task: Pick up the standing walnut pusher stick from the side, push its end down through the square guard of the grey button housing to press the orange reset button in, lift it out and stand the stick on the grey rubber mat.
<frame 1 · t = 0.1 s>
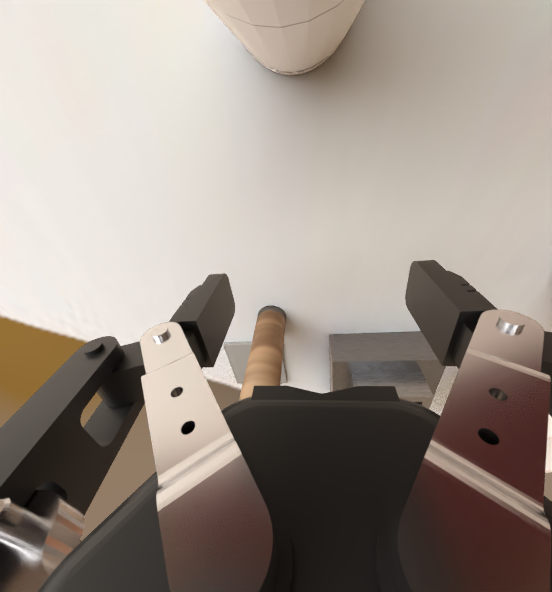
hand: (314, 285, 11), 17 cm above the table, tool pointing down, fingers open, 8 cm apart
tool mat: (257, 362, 42), on the table
pusher stick: (271, 316, 36), on the table
grey button housing: (374, 364, 40), on the table
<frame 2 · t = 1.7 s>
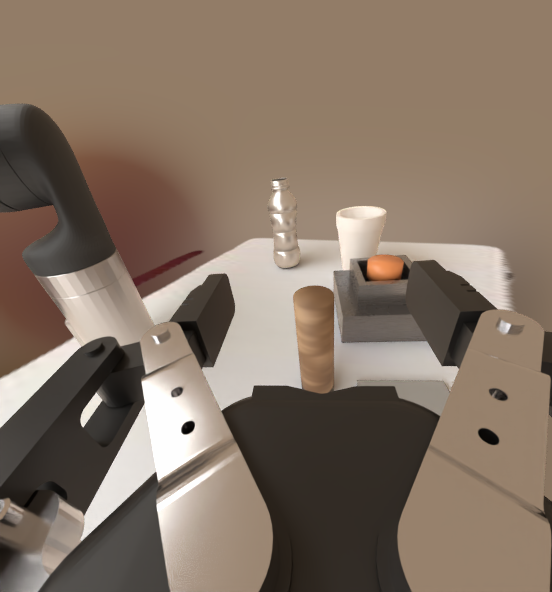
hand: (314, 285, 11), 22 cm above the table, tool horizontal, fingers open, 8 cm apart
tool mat: (411, 418, 27), on the table
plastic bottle: (288, 266, 63), on the table
pusher stick: (317, 386, 32), on the table
breaker button: (384, 268, 38), point 9 cm above the table, slide at 0.0 cm
foam cup: (356, 271, 56), on the table
grey button housing: (378, 313, 43), on the table
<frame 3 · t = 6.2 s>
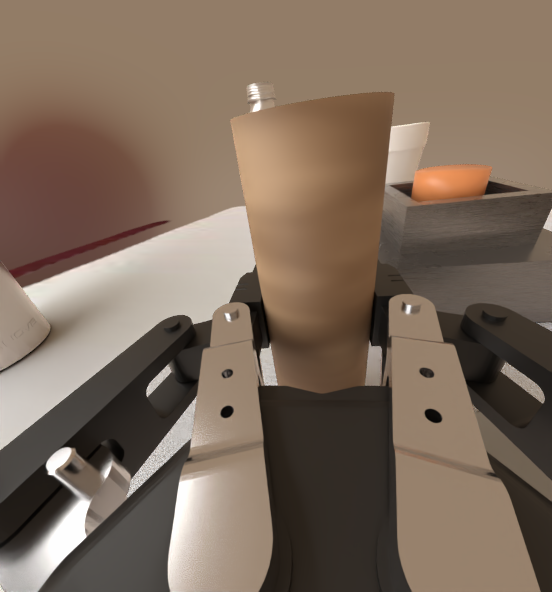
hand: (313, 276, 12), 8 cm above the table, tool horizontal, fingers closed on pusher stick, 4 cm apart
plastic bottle: (277, 229, 45), on the table
pusher stick: (321, 423, 14), on the table, touching gripper
breaker button: (447, 186, 20), point 9 cm above the table, slide at 0.0 cm
foam cup: (376, 230, 38), on the table
grey button housing: (426, 279, 25), on the table
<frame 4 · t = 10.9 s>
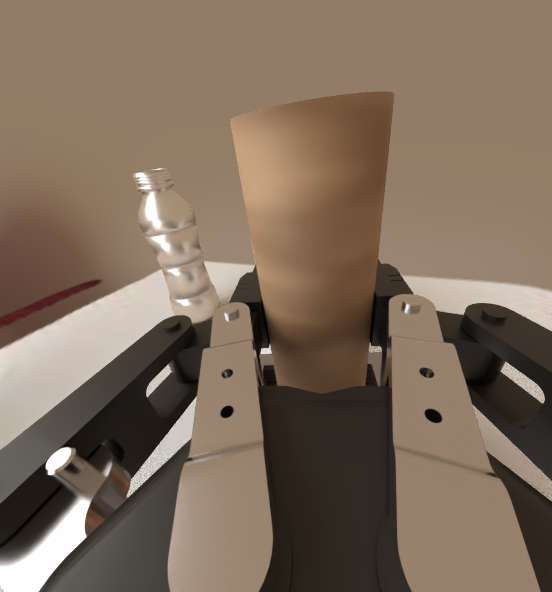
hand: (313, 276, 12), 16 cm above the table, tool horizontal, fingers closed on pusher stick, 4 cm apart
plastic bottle: (201, 316, 38), on the table
pusher stick: (321, 425, 14), point 8 cm above the table, touching breaker button, gripper
grey button housing: (322, 483, 18), on the table
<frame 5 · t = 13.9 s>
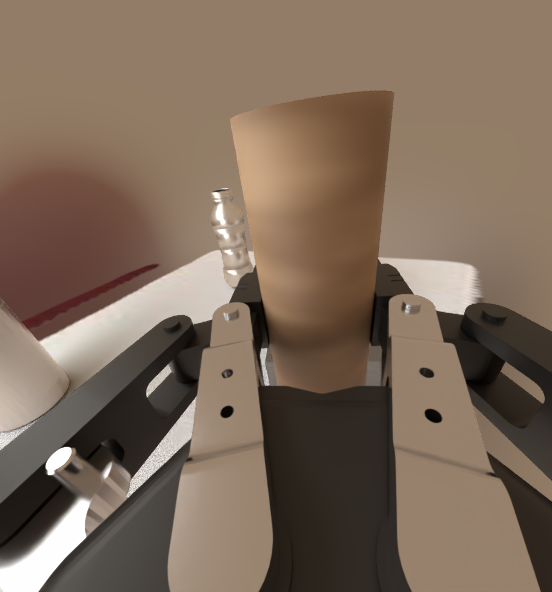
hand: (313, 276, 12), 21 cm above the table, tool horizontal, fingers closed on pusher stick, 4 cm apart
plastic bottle: (241, 284, 57), on the table
pusher stick: (321, 426, 14), point 13 cm above the table, touching gripper
grey button housing: (322, 348, 37), on the table
when the fingers open (9 cm above the table, at t = 16.3 s): pusher stick stays where it is, resting on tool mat.
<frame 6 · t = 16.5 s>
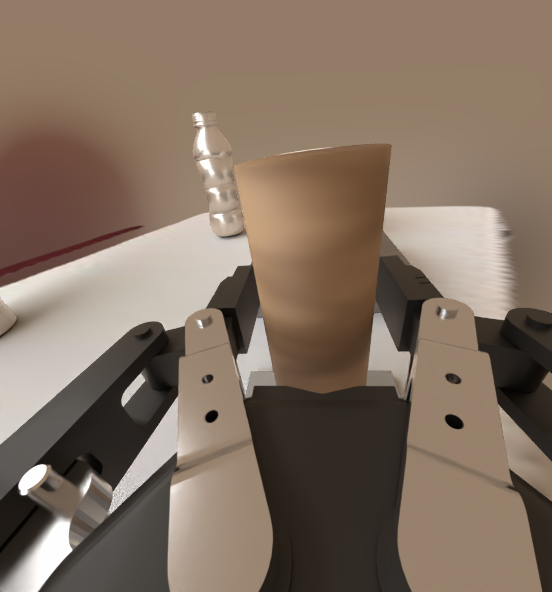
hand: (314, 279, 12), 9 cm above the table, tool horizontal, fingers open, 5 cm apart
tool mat: (321, 439, 15), on the table
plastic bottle: (230, 235, 50), on the table
pusher stick: (322, 437, 14), point 1 cm above the table, touching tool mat
grey button housing: (321, 280, 30), on the table
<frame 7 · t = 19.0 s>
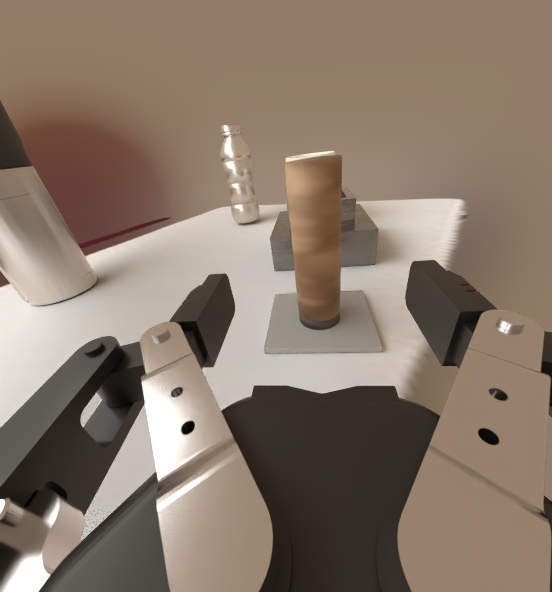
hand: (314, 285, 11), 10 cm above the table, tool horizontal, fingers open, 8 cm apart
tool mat: (319, 320, 25), on the table
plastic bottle: (247, 223, 62), on the table
pusher stick: (319, 317, 25), point 1 cm above the table, touching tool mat
grey button housing: (321, 249, 41), on the table
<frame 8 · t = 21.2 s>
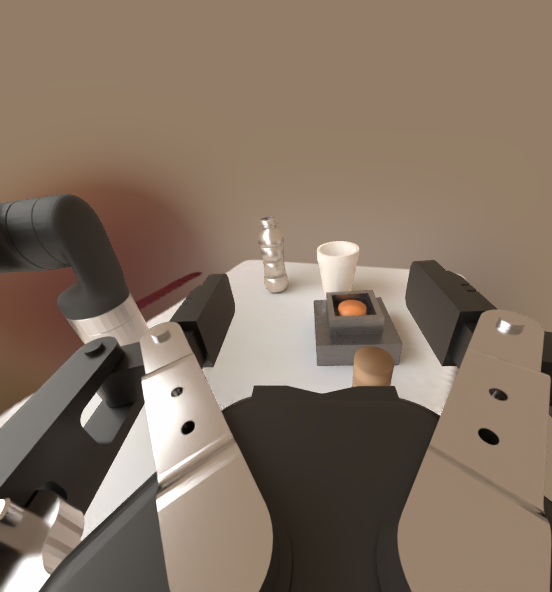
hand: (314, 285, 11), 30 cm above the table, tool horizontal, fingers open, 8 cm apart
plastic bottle: (277, 290, 71), on the table
pusher stick: (365, 431, 34), point 1 cm above the table, touching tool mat
breaker button: (352, 312, 47), point 7 cm above the table, slide at 2.0 cm
foam cup: (337, 296, 64), on the table
grey button housing: (350, 338, 50), on the table
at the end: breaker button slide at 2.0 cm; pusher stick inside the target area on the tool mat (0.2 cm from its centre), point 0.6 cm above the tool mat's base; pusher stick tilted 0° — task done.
